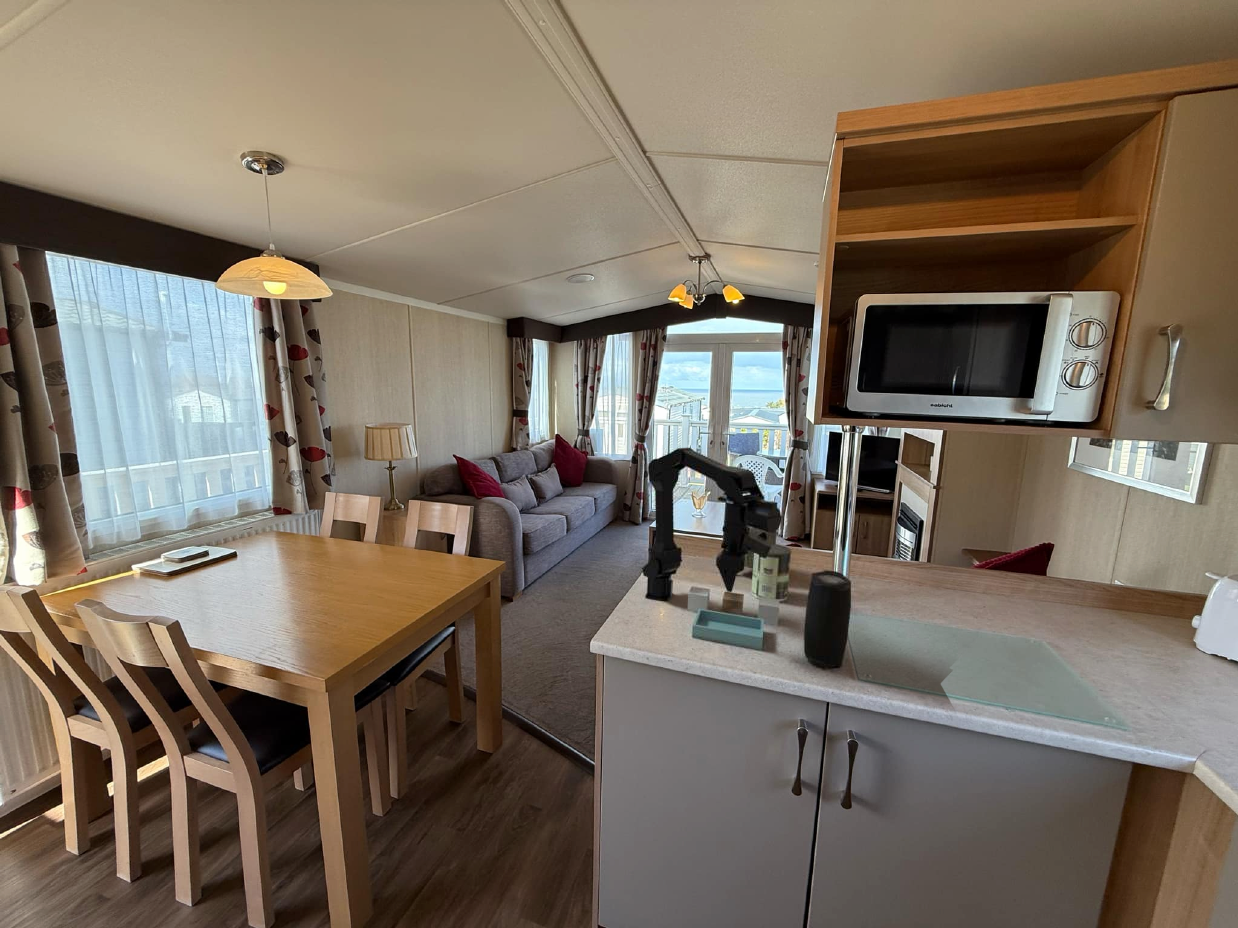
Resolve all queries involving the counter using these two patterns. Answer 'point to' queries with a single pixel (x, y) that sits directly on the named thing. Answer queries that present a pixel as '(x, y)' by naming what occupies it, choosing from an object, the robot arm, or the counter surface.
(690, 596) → the grey block left
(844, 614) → the portable speaker
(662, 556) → the robot arm
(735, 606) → the walnut block
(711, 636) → the tray
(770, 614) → the grey block right
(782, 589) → the coffee can
